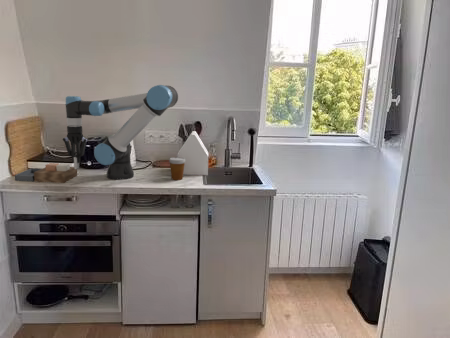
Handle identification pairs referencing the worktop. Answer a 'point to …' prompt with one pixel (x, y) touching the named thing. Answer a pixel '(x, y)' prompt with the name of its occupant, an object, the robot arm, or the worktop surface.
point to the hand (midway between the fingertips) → (76, 168)
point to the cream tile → (63, 167)
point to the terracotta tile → (51, 166)
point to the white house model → (194, 156)
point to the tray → (26, 175)
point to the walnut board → (54, 175)
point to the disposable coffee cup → (177, 167)
